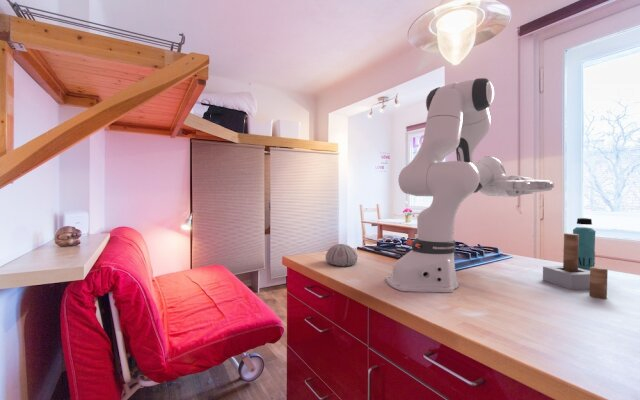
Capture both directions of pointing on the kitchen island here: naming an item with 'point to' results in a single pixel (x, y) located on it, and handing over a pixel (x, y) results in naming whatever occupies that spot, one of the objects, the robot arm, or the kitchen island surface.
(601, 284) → the short dowel
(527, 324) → the kitchen island surface
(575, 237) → the long dowel
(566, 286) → the socket block
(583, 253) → the beverage bottle
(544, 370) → the kitchen island surface
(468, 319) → the kitchen island surface
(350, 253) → the sea urchin shell
